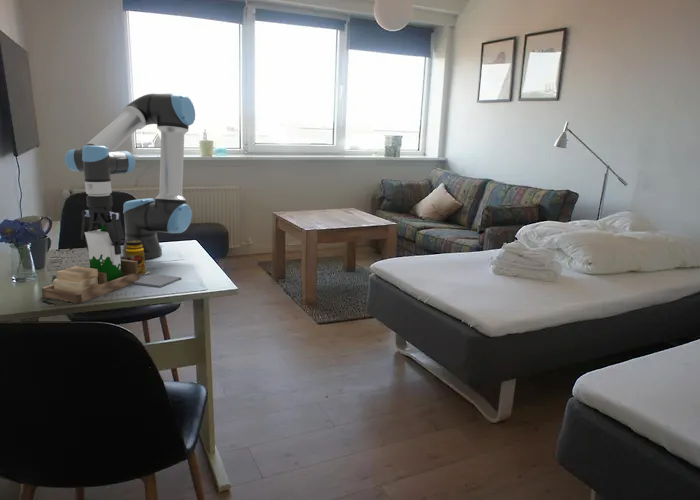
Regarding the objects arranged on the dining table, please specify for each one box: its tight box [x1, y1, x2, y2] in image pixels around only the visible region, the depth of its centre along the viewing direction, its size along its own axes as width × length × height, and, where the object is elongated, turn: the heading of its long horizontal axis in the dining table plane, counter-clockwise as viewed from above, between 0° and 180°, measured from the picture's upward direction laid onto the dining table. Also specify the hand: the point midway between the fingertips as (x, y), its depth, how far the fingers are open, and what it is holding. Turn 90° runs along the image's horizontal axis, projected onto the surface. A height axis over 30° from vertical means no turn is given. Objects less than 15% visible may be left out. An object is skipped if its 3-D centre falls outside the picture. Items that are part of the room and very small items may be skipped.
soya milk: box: [84, 223, 122, 282], centre depth 169 cm, size 9×9×20 cm
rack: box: [41, 258, 140, 304], centre depth 165 cm, size 25×14×7 cm, turn 161°
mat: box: [133, 273, 182, 288], centre depth 175 cm, size 11×11×1 cm
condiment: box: [125, 240, 152, 277], centre depth 183 cm, size 7×8×12 cm
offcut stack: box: [52, 265, 100, 293], centre depth 159 cm, size 8×10×8 cm
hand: (105, 262), depth 169 cm, fingers closed on soya milk, 9 cm apart
